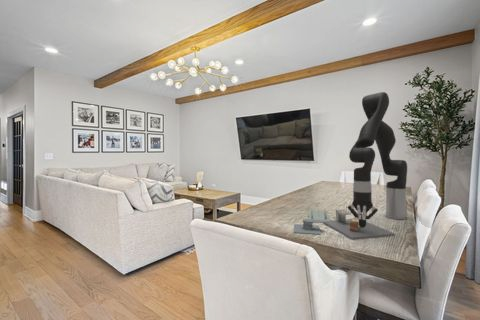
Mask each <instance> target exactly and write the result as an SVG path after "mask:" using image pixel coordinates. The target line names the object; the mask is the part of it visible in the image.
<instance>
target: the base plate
mask: <svg viewBox="0 0 480 320" xmlns="http://www.w3.org/2000/svg"><path fill="white" fill-rule="evenodd" d="M329 220H330V221H326V223H323V224H324V225H325V226H327V227H329V228H331V229H332V230H334V231H336V232H338V233H340V235H341V234H342V235H343V236H344V237H346V238H348V239H350V240H351V241H352V240H363V239H373V238H383V237H394V236H396V233H395V232H392V231H390V230H388V229H385V228H382V227H380V226H377V225H375V224H374V223H371V222H368V221H366V226H365V227H364V228H362V227H359V229H358V231H352V230H350V222H351V221H352V220H353V218H346V222H337V221H336V219H329Z"/></svg>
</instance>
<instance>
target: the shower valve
mask: <svg viewBox="0 0 480 320" xmlns="http://www.w3.org/2000/svg"><path fill="white" fill-rule="evenodd" d="M314 223H316V224H319V223H320V224H321V223H322V224H324V223H326V221H325V220H315V219H305V218H303V219H302V223H301V224H300V223H294V225H293V233H294V234H300V235H312V236H313V235H315V236H321V235H322V233H321V229H320V226H319V225H315V224H314Z"/></svg>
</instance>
